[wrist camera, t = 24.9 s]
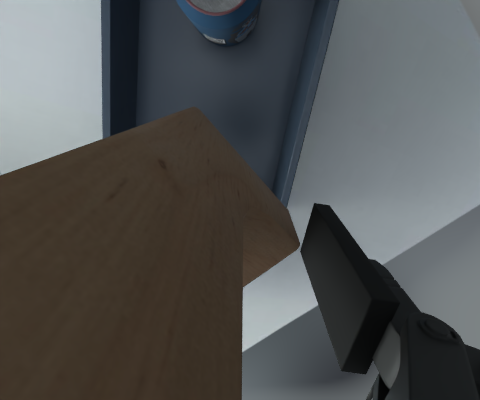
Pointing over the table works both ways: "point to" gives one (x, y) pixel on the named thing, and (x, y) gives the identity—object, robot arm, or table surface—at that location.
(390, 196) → the table surface
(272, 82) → the bin
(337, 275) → the robot arm
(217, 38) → the soda can
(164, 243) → the wooden block
